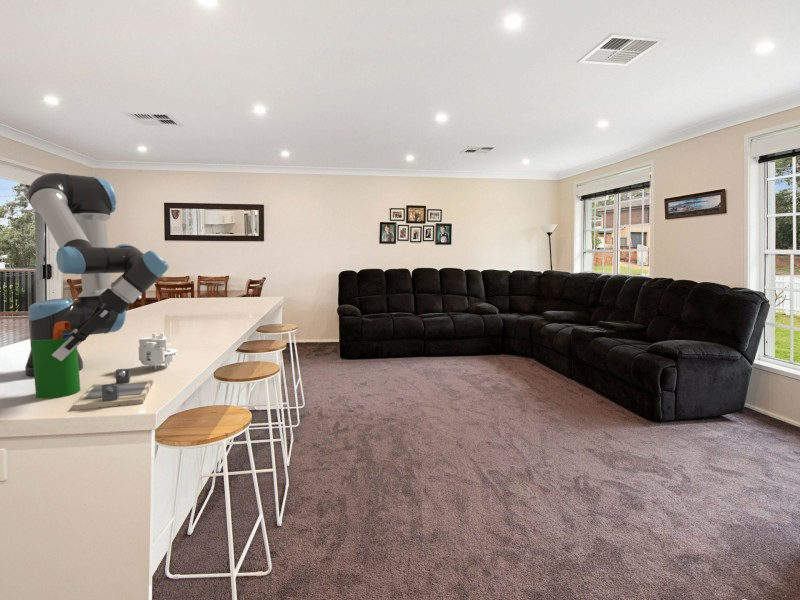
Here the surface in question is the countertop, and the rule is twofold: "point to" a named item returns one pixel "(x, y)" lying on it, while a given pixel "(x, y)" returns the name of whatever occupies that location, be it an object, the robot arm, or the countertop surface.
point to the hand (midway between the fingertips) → (58, 353)
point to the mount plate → (127, 392)
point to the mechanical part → (155, 350)
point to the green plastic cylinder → (55, 366)
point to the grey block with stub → (122, 376)
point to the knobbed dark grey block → (110, 392)
